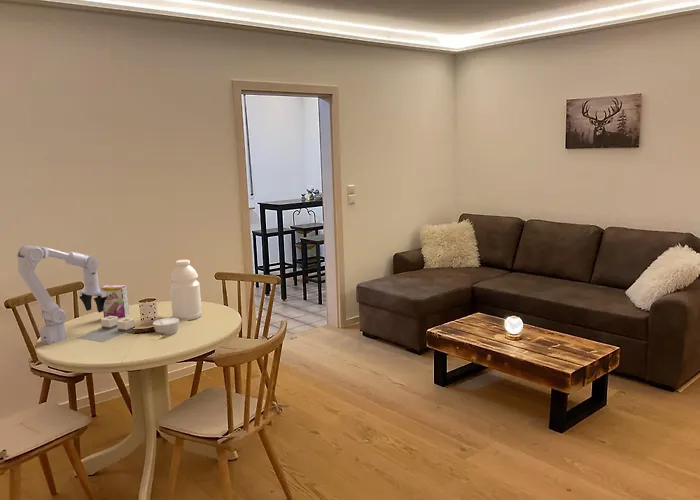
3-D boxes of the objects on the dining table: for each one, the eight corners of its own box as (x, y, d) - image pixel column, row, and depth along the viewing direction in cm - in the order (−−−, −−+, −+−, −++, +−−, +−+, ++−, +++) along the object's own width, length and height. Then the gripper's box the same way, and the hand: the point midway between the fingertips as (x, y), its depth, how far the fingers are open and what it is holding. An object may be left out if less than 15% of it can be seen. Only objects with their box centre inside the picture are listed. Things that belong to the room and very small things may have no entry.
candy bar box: (103, 320, 278) (99, 287, 275) (109, 317, 283) (105, 285, 280) (125, 320, 277) (121, 287, 274) (130, 317, 282) (126, 284, 279)
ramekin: (148, 334, 254) (147, 323, 253) (167, 327, 264) (166, 316, 263) (166, 337, 249) (165, 326, 248) (185, 330, 259) (184, 319, 258)
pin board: (103, 345, 242) (102, 335, 241) (76, 341, 248) (75, 331, 248) (138, 330, 259) (137, 321, 259) (112, 327, 266) (111, 318, 265)
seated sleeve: (126, 332, 253) (125, 322, 253) (117, 330, 256) (116, 321, 255) (135, 328, 258) (134, 319, 257) (126, 327, 260) (125, 317, 259)
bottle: (178, 323, 269) (173, 265, 264) (168, 316, 280) (163, 260, 275) (206, 316, 277) (202, 260, 272) (196, 310, 288) (191, 256, 283)
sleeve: (110, 329, 258) (109, 320, 257) (101, 328, 260) (100, 319, 259) (119, 326, 262) (118, 316, 261) (110, 325, 264) (109, 315, 264)
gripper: (110, 281, 258) (113, 310, 260) (87, 278, 264) (90, 307, 266) (97, 284, 252) (100, 314, 254) (74, 282, 258) (78, 311, 260)
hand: (94, 311), depth 260 cm, fingers open, 7 cm apart
